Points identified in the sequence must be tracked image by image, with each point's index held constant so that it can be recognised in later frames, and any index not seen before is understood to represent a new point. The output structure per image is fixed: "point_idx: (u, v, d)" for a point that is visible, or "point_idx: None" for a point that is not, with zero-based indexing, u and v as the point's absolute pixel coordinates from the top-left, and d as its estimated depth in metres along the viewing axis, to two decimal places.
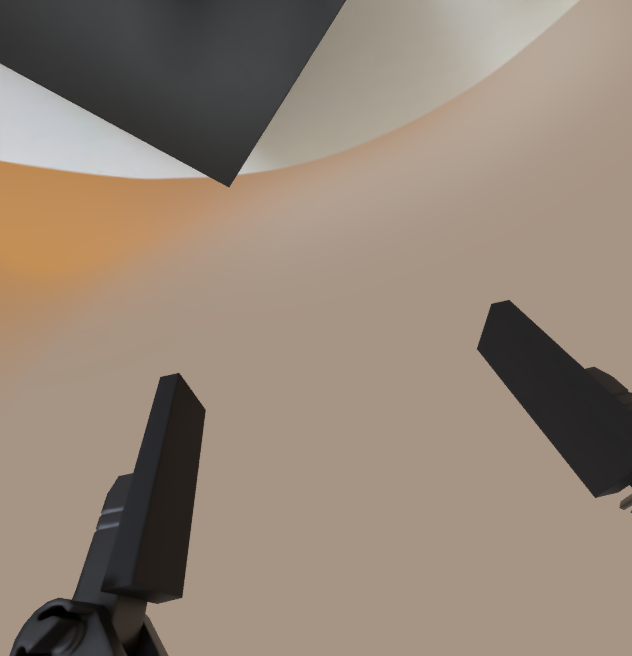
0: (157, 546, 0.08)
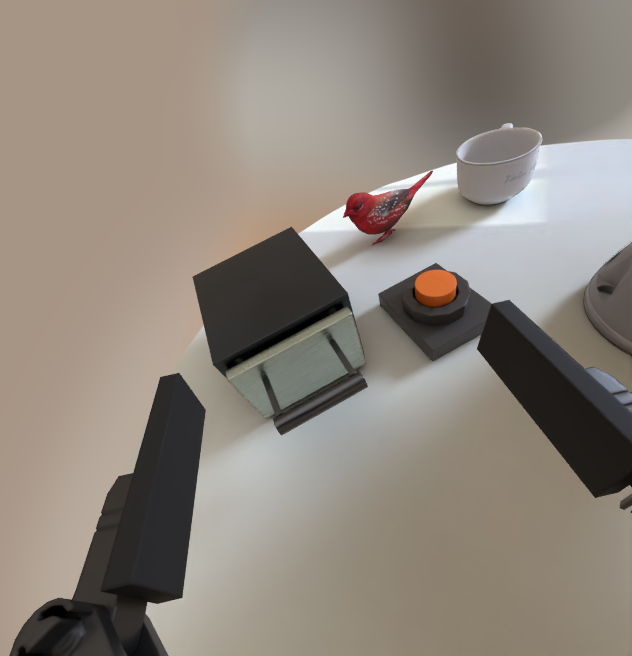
0: (157, 546, 0.08)
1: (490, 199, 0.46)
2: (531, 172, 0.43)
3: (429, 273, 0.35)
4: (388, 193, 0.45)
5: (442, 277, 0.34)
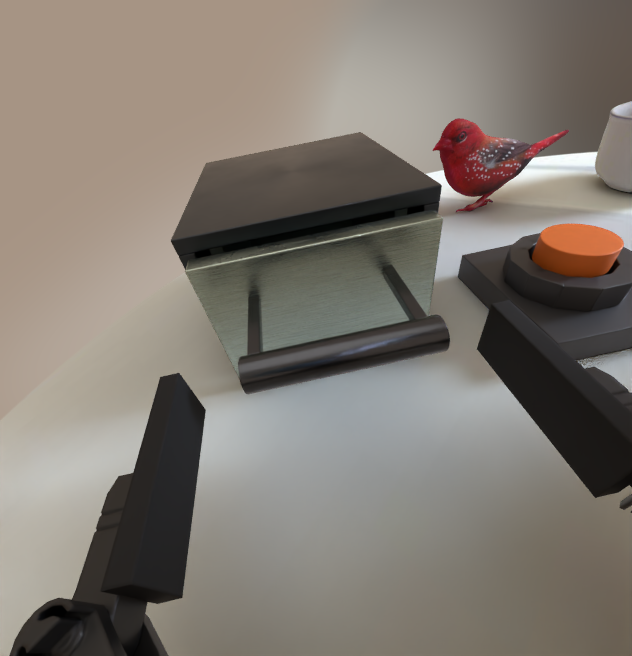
0: (157, 546, 0.08)
1: None
2: None
3: (567, 226, 0.21)
4: (502, 138, 0.32)
5: (594, 234, 0.20)
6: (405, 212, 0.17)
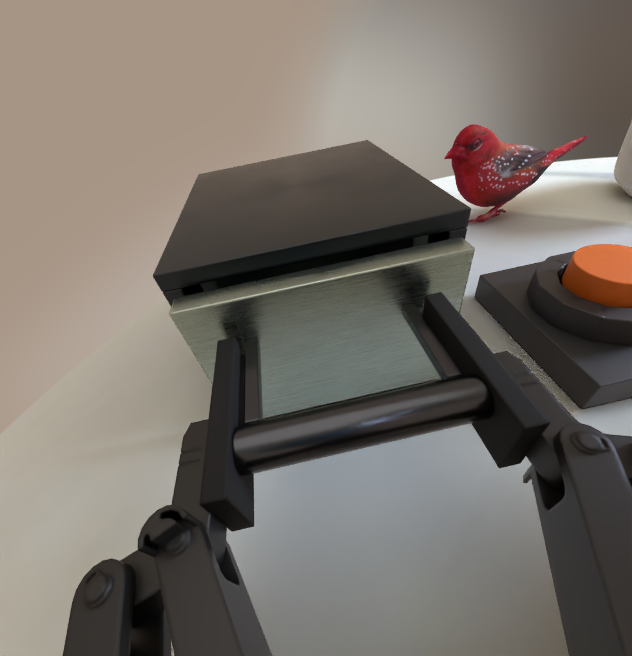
0: (237, 476, 0.09)
1: None
2: None
3: (602, 248, 0.19)
4: (518, 145, 0.30)
5: None
6: (426, 237, 0.15)
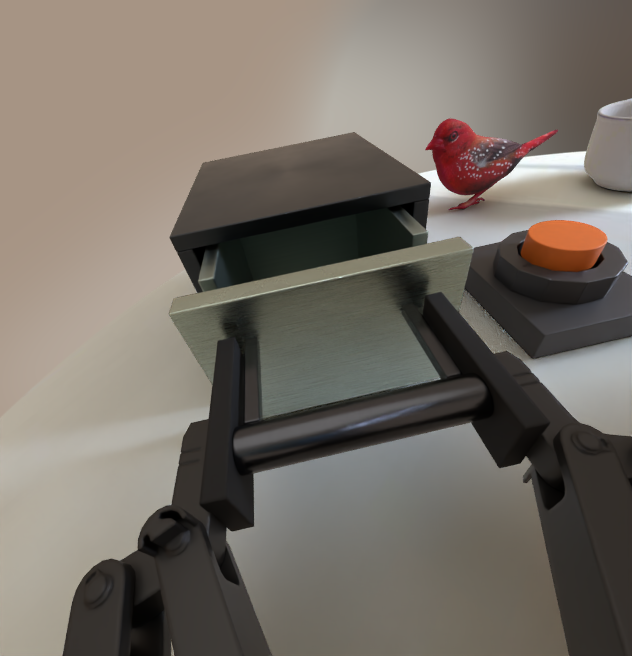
0: (237, 476, 0.09)
1: None
2: None
3: (554, 223, 0.22)
4: (493, 138, 0.33)
5: (580, 230, 0.21)
6: (425, 237, 0.15)
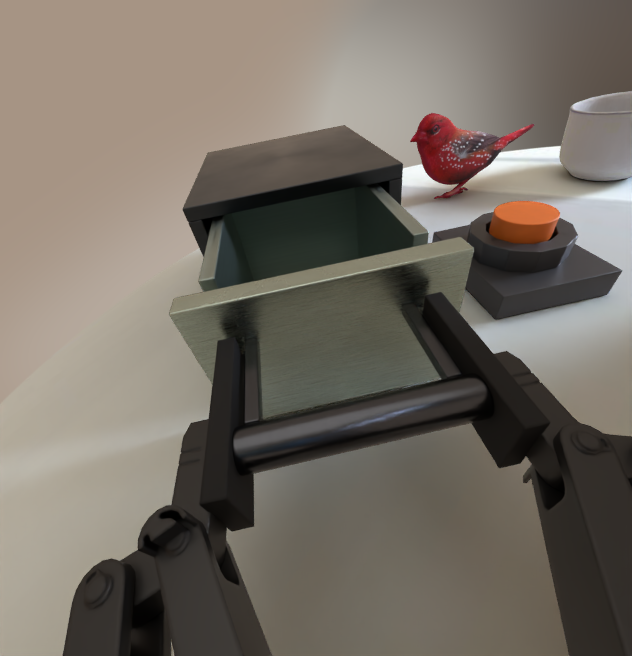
0: (237, 476, 0.09)
1: (604, 169, 0.35)
2: None
3: (517, 203, 0.25)
4: (473, 131, 0.35)
5: (538, 208, 0.24)
6: (426, 237, 0.15)
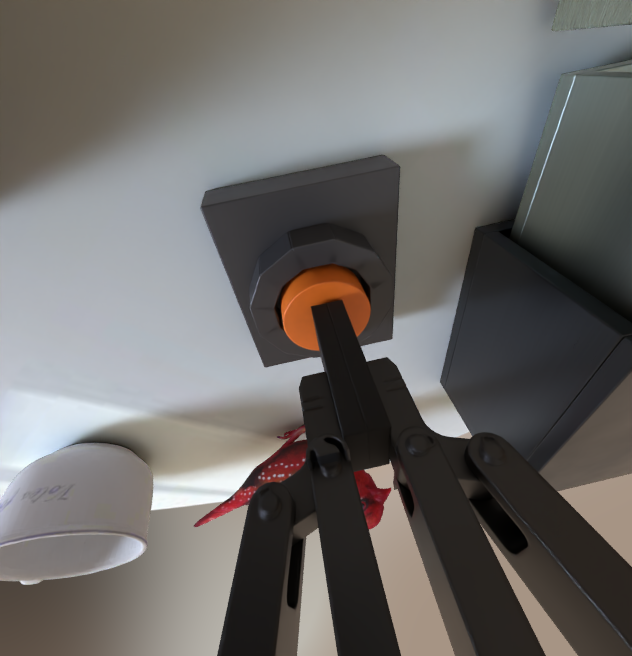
0: None
1: (107, 455, 0.24)
2: (11, 493, 0.22)
3: None
4: None
5: (306, 325, 0.15)
6: None
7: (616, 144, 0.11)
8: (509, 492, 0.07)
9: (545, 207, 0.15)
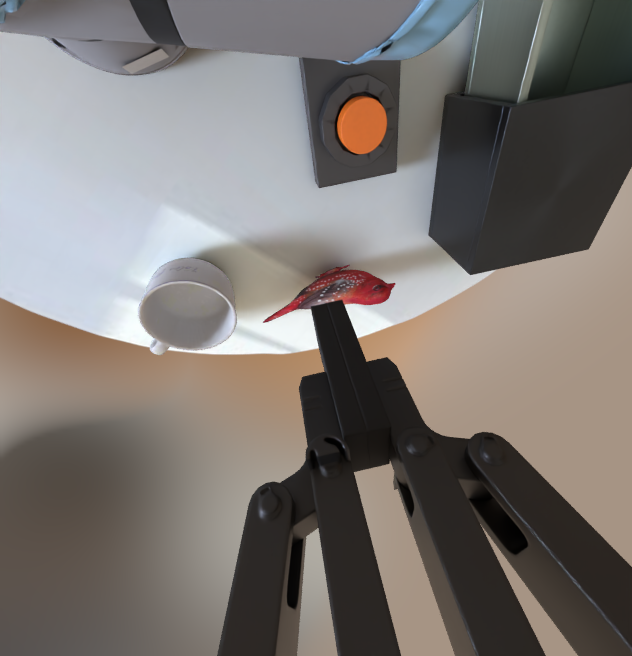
0: None
1: None
2: (160, 271, 0.35)
3: (360, 148, 0.29)
4: None
5: (352, 131, 0.28)
6: None
7: (501, 18, 0.25)
8: (509, 492, 0.07)
9: (478, 67, 0.28)
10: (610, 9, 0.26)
